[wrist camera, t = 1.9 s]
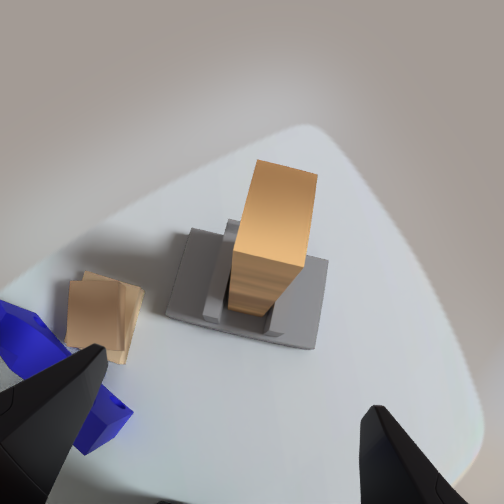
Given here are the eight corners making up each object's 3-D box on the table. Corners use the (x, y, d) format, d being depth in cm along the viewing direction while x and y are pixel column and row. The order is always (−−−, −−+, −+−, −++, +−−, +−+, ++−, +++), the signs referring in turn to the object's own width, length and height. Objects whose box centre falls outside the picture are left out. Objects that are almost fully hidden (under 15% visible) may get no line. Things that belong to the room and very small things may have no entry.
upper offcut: (124, 351, 20) (116, 350, 18) (77, 347, 20) (66, 346, 18) (125, 286, 22) (118, 280, 20) (79, 286, 21) (70, 280, 19)
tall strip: (261, 317, 22) (304, 267, 11) (227, 309, 22) (233, 250, 11) (272, 265, 23) (317, 174, 12) (240, 258, 23) (257, 159, 12)
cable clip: (13, 349, 20) (-29, 342, 14) (37, 313, 21) (-3, 298, 16) (105, 448, 18) (74, 469, 13) (134, 411, 20) (107, 425, 14)
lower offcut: (127, 364, 21) (118, 364, 20) (74, 344, 21) (63, 342, 20) (146, 293, 24) (139, 287, 22) (94, 277, 24) (85, 270, 22)
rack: (308, 349, 23) (327, 346, 18) (168, 317, 23) (156, 307, 18) (323, 266, 25) (342, 246, 21) (193, 235, 25) (187, 209, 21)
